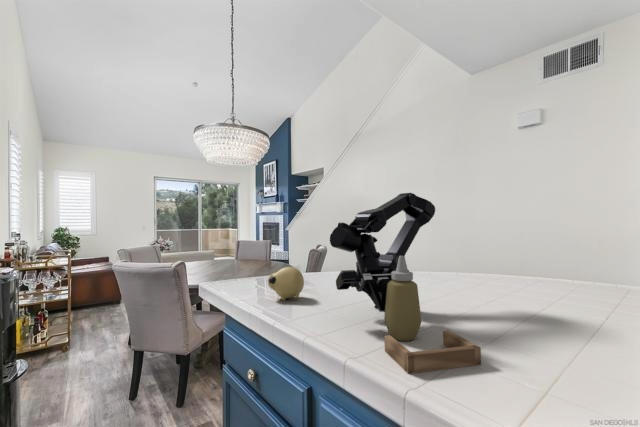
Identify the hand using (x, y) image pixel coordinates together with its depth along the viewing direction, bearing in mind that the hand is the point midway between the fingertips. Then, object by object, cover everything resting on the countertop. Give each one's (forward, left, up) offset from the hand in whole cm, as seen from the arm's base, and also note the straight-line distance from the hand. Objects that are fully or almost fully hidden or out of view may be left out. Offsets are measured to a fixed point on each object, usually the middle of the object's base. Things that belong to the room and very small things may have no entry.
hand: (382, 311), depth 72 cm
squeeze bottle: (0, +6, -4) cm, 8 cm away
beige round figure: (+3, -39, -4) cm, 39 cm away
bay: (+5, +16, -4) cm, 17 cm away
